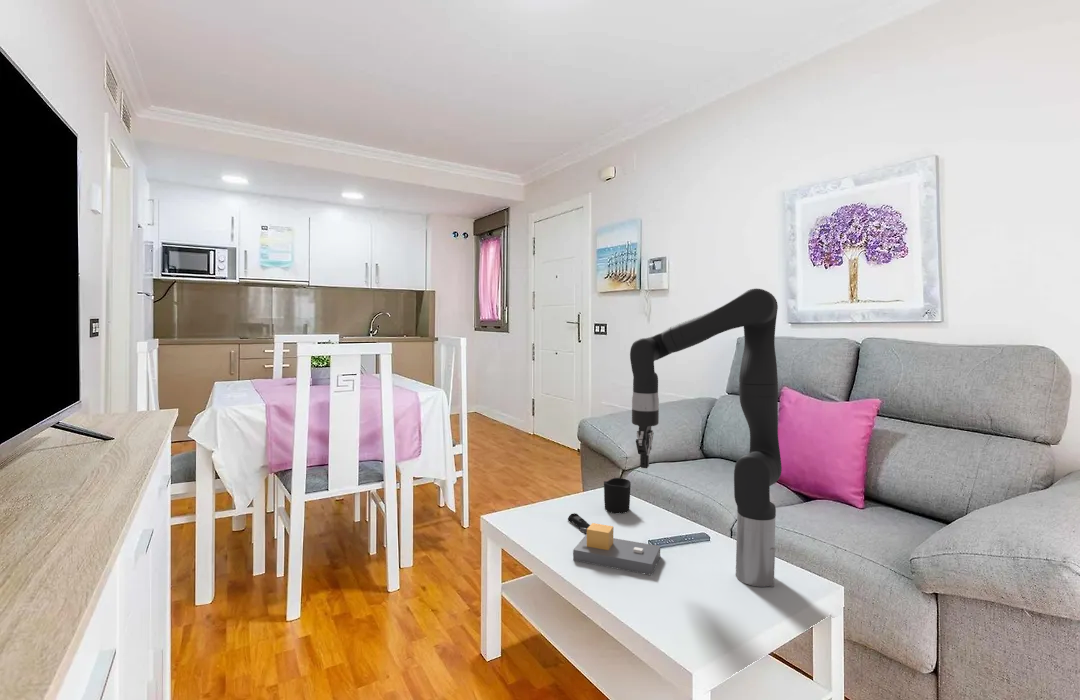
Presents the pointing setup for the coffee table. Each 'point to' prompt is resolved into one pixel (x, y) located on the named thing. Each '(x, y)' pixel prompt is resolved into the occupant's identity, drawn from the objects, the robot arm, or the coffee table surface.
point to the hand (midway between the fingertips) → (644, 467)
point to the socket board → (620, 555)
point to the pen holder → (617, 495)
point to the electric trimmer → (578, 521)
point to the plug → (599, 536)
